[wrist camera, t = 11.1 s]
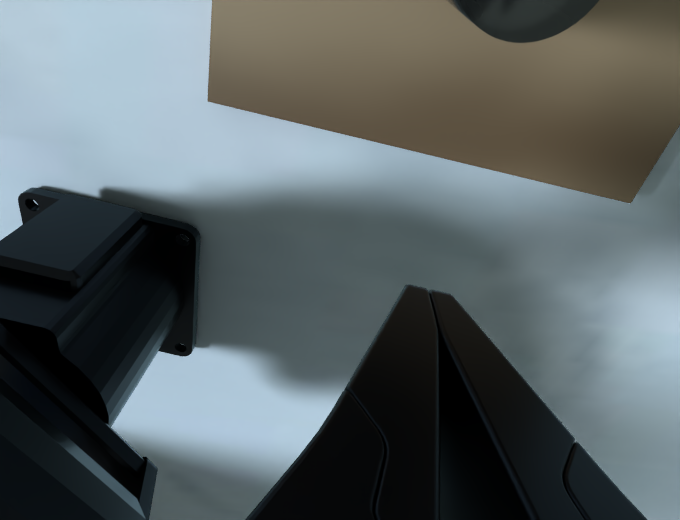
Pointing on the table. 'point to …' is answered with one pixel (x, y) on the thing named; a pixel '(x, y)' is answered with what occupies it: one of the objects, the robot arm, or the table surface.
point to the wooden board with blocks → (463, 83)
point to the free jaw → (523, 17)
